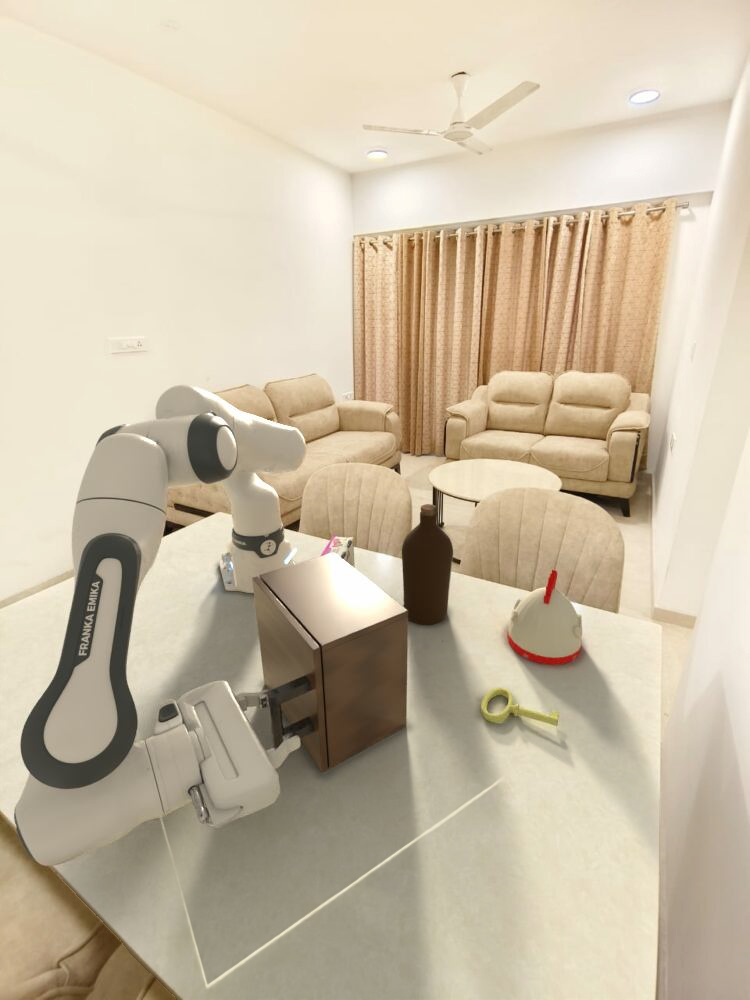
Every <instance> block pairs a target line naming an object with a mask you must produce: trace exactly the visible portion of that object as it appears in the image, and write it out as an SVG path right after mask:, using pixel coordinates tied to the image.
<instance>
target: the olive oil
mask: <svg viewBox="0 0 750 1000" xmlns="http://www.w3.org/2000/svg"><path fill="white" fill-rule="evenodd" d="M437 519H438V512H437V506H436V505H435V504H429V503H427V504H426V503H425V504H422V505H421V506H420V512H419V523H418V525H416V526H415V527H414V528H413V529H412V530H410V531H409V532H408V533H407V534H406V536H405V537H404V539H403V542H402V545H401V567H402V586H403V607H404V608H405V609H407V610H408V621H411V622H412V623H415V624H418V625H425V626H426V625H435V624H438V623H440V622H442V621H444V620H445V619H446V617H447V616H448V608H449V607H448V605H449V598H450V597H449V596H450V586H451V576H452V568H453V567H452V566H453V558H454V547H453V543H452V540H451V538H450V536H449V535H448V534H447V533H446V531H444V530H443V529H442V528H441V527H440V526H439V525H438V524H437V521H438V520H437Z"/></svg>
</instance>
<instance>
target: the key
mask: <svg viewBox="0 0 750 1000" xmlns="http://www.w3.org/2000/svg"><path fill="white" fill-rule="evenodd" d="M497 696H503V697H505V698H506V699H507V700H508V702H507V705H506V707H505V708H504V709H503V710H502V711H501V712H499V713H491V712H489V711H488V705H489V702H490V700H491V699H493V698H494V697H497ZM480 711H481V714H482V716H483V718H484V719H485V720H486V721H488V722H490V723H496V724H497V723H502V722H503V721H505V720H507V719H508V717H509V716H510V714H511V713H512V714H513V716H514V717H518V716H522V717H524V718H528V719H531V720H535V721H539V722H542V723H546V724H549V725H553V726H555V727H557V726H558V725H559V716H560V711H557V712H556V710H551V712H550V715H549V714H545V713H542V712H538V711H535V710H532V709H528V708H525V707H522V706H520V704H519V703H516V704H514V697H513V694H512V692H511V691H510V690H509V689H507V688H504V687H495V688H493V689H490V690H489V691H488V692H487V693H486V694H485V695H484V697H483V698H482V701H481V703H480Z"/></svg>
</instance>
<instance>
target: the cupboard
mask: <svg viewBox="0 0 750 1000" xmlns="http://www.w3.org/2000/svg"><path fill="white" fill-rule="evenodd" d="M259 577H260V579H261V581H262V582H263V583H264V584H265V585H266V586H267V587H268V589H269V590H270V591H271V592H272V593H273V594H274V595H275V597H276V598H277V599H278V600H279V601H280V602H281V603H282V605H283V606H284V607H285V608H286V609H287V610H288V611H289V613H290V614H291V615H292V616H293V617H294V618H295V619H296V621H297V622H298V623H299V624H300V625H301V626H302V627H303V629H304V630H305V631H306V632H307V633H308V634H309V635H310V637H311V638H312V639H313V640H314V641H315V642H316V643H317V645H318V646H319V647H320V654H321V670H322V686H323V701H324V717H325V733H326V748H327V764H328V770H331V769H333V768H334V767H336V766H338V765H340V764H342V763H344V762H345V761H347V760H349V759H350V758H352V757H354V756H356V755H358V754H359V753H361V752H363V751H365V750H366V749H368V748H371V747H372V746H374V745H376V744H377V743H379V742H381V741H383V740H385V739H387V738H388V737H390V736H392V735H394V734H396V733H398V732H400V731H401V730H403V729H405V728H407V716H408V715H407V713H408V712H407V711H408V710H407V707H408V704H407V703H408V646H409V645H408V643H409V642H408V641H409V640H408V639H409V619H408V610H407V609H405V608H404V605H401V604H400V603H399V602H397V600H395V599H394V598H393V597H392V596H390V595H389V594H388V593H386V592H385V591H384V590H383V589H381V588H380V587H379V586H378V585H376V584H375V583H374V582H372V581H371V580H370V579H369V578H367V577H366V576H365V575H363V574H362V573H361V571H359V570H357V569H356V568H355V569H354V568H353V567H352V566H351V565H349V564H348V563H347V562H346V561H344V560H343V559H342V558H340V557H339V556H338V555H337V554H335V553H334V552H333V553H330V554H327V555H323V556H321V555H320V556H316V557H313V558H311V559H308V560H304V561H300V562H298V563H296V564H294V565H290V566H287V567H284V568H280V569H277V570H274V571H270V572H267V573H264V574H261V575H259Z"/></svg>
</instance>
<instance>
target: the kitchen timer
mask: <svg viewBox="0 0 750 1000" xmlns="http://www.w3.org/2000/svg"><path fill="white" fill-rule="evenodd" d="M557 578H558V571H557V570H554V569H551V573H550V574H549V576H548V578H547V579H548V581H547V585H546V586H544V587H540V588H539V587H538V588H536V589H534V590H533V591H531V592H529V593H528V594H526V595H525V596H524V597H523V599H522V598H518V599H517V600H516V602H515V604H514V607H513V609H512V612H511V615H510V621H509V623H508V627H507V635H506V637H507V641H508V645H510V647H511V649H512V650H513V651H514V652H516V653H517V654H519V655H520V657H521V656H522V657H523V658H525V659H527V660H529V661H532V662H535V663H538V664H542V665H550V666H557V665H558V666H559V665H565V664H568V663H571V662H573V661H575V660H576V659H577V658H578V657H579V655H580V654H581V650H582V643H583V642H582V641H583V640H582V637H583V621H582V620H583V618H582V614H581V613H577V611H576V610H575V607H574V605H573V604H572V601H571V600H570V599H569V598H568V597H567V596H566V595H565V594H564V593H563V592H561V591H560V590H558V589H556V585H557Z"/></svg>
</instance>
